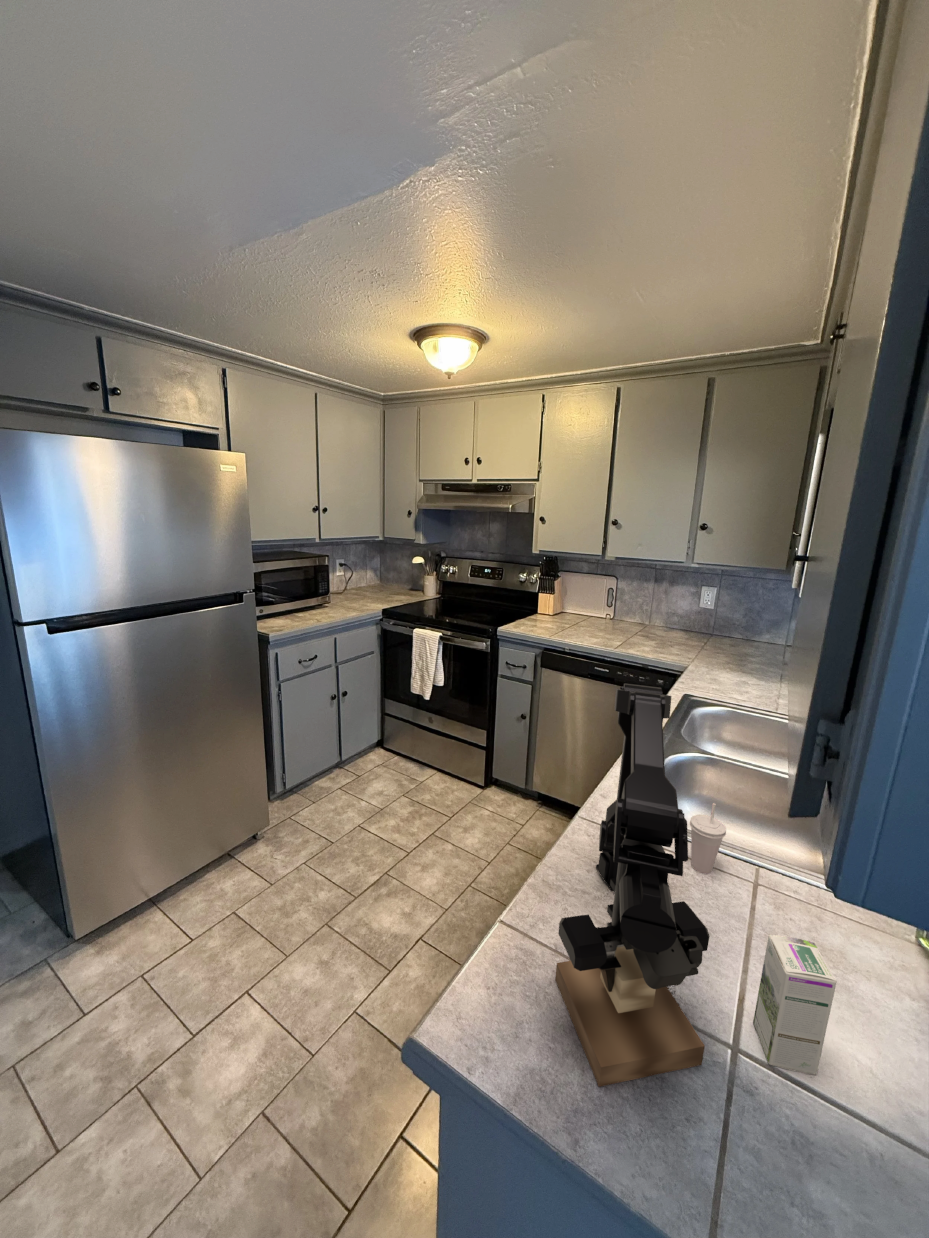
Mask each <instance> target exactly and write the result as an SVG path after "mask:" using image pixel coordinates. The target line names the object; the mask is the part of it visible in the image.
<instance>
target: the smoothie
mask: <svg viewBox="0 0 929 1238" xmlns="http://www.w3.org/2000/svg"><path fill="white" fill-rule="evenodd" d="M716 805H717V804H716V802H713V803H712V806H711V812H710V815H707V814H695V815H692V816H691V817H690V821H689V827H690V828H691V830H690V832H691V835H690V836H691V837H690V838H691V839H690V840H691V842H690V843H691V851H690V852H691V853H690V854H691V855H690V857H691V858H690V859H691V862H690V863H691V868H692V869H694V870H695V871H696V872H697V873H700V874H705V875H709V874H711V873H712V871H713V868H714V866H715V863H716V860H717V856H718V853H719V850H720V848H721V844H722V842H723V838H724V837H726V835H727V827H726V825H725V824H724V823H723V822H722V821H721V820H719V819H718V818H715V813H716V812H715V811H716Z"/></svg>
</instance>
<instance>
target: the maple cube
mask: <svg viewBox="0 0 929 1238" xmlns="http://www.w3.org/2000/svg"><path fill="white" fill-rule="evenodd" d="M615 956H616V958H617V960H618V961H619V963H620V965H621V967H620V968H615V977H614V985H613V989H612V992H609V991H608V989H607V987H606V985H605V982H604V979H603V976H602V973H601V975H600V978H601V980H602V982H603V984H604V986H605V988H606V990H607V992H608V994H609V996H610V998H611V1000H612V1002H613V1004H614V1006H615V1008H616V1010H617V1012H618V1013H623V1012H628V1011H634V1010H639V1009H645V1008H650V1007H653V1004H654V997H655V991H656V989H652V988H650V987H649V986H648V985H647V984H646V982H645V980H644V978H643V974H642V971H641V969H640V966H639V964H638V962H637V959H636V957H635V955H634V952H633V949H629V950H626V948H625V947H617V950H616V953H615Z"/></svg>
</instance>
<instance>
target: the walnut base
mask: <svg viewBox="0 0 929 1238" xmlns="http://www.w3.org/2000/svg"><path fill="white" fill-rule="evenodd" d="M600 975H601V970H600V969H598V968H597V969H591V970H584V971H579V970H577V969H575V968H574V966H573V964H572V962H571V960H567V961H561V962H560V961H559V962H556V966H555V976H554V980H555V983H556V985H557V988H558V991H559V993H560V995H561V998H562V1000H563V1003H564V1005H565V1007H566V1010H567V1012H568V1015H569V1017H570V1020H571V1022H572V1024H573V1027H574V1029H575V1032H576V1034H577V1037H578V1039H579V1042H580V1044H581V1047H582V1049H583V1051H584V1054H585V1056H586V1058H587V1062H588V1064H589V1067H590V1069H591V1071H592V1074H593V1077H594V1079H595V1081H596V1084H597V1087H599V1088H600V1087H604V1086H605V1087H606V1086H609V1085H610V1086H611V1085H615V1084H619V1083H623V1082H629V1081H633V1080H637V1079H642V1078H646V1077H647V1078H648V1077H652V1076H657V1075H661V1074H667V1073H670V1072H671V1073H672V1072H676V1071H680V1070H681V1071H682V1070H685V1069H689V1068H694V1067H699V1066H702V1064H703V1058H704V1054H705V1047H706V1046H705V1043H704V1042H703V1041H702V1040H701V1038H700V1036H699V1034H698V1033H697V1031H696V1030H695V1029H694V1027H693V1025H692V1024H691V1022H690V1020H689V1018H688V1017H687V1015H686V1014H685V1012H684V1011H683V1010H682V1008H681V1006H680V1004H679V1003H678V1002H677V999H676V998H675V997H674V995H673V993H672V992H671V991H670V989H669V986H668V987H662V988H660V989H656V991H655V997H654V1004H653V1007H650V1008H645V1009H639V1010H634V1011H628V1012H623V1013H618V1012H617V1010H616V1008H615V1006H614V1004H613V1002H612V1000H611V998H610V996H609V994H608V992H607V990H606V988H605V986H604V984H603V982H602V980H601V978H600Z"/></svg>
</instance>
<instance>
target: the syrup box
mask: <svg viewBox="0 0 929 1238" xmlns="http://www.w3.org/2000/svg"><path fill="white" fill-rule="evenodd" d="M767 938H768V939H767V942H766V943H767V944H766V947H765V948H766V949H765V955H764V959H763V964H762V970H761V975H760V976H761V977H760V981H759V982H760V983H759V987H758V993H757V998H756V1004H755V1010H754V1016H753V1022H752V1023H753V1025H754V1029H755V1031H756V1034H757V1036H758V1039H759V1041H760V1044H761V1047H762V1049H763V1052H764V1055H765V1058H766V1060H767V1063H768V1065H770V1066H773V1067H776V1068H781V1069H784V1070H790V1071H794V1072H798V1073H803V1074H806V1075H812V1076H817V1074H818V1070H819V1066H820V1061H821V1056H822V1051H823V1047H824V1042H825V1038H826V1035H827V1029H828V1024H829V1019H830V1014H831V1009H832V1005H833V1000H834V995H835V992H836V987H837V979H836V977H835V976H834V974H833V972H832V970H831V968H830V967H829V965H828V964H827V962H826V960H825V958H824V957H823V955H822V954H821V952H820V950H819V948H818V946H817V945H816V943H815V942H814V941H810V940H805V939H801V938H797V937H790V936H784V935H776V934H775V935H774V934H768V936H767Z"/></svg>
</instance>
